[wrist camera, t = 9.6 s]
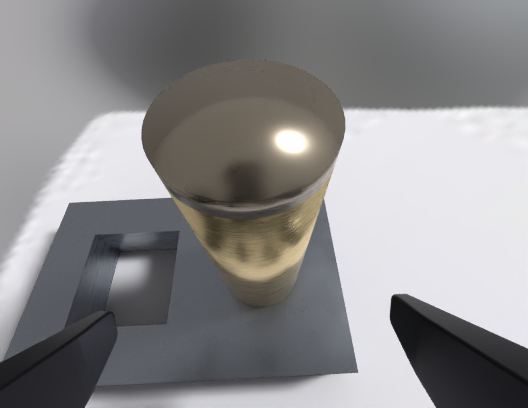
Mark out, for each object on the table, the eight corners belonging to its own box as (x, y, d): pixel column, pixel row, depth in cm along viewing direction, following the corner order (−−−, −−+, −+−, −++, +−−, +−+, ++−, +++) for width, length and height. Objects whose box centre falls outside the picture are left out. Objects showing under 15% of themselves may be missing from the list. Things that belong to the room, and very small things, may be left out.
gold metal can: (301, 305, 15) (369, 194, 5) (223, 309, 15) (117, 206, 5) (293, 234, 18) (326, 55, 7) (226, 237, 18) (160, 63, 7)
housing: (342, 369, 17) (358, 372, 14) (41, 384, 17) (-10, 391, 14) (315, 212, 23) (322, 190, 20) (95, 222, 23) (69, 202, 20)
